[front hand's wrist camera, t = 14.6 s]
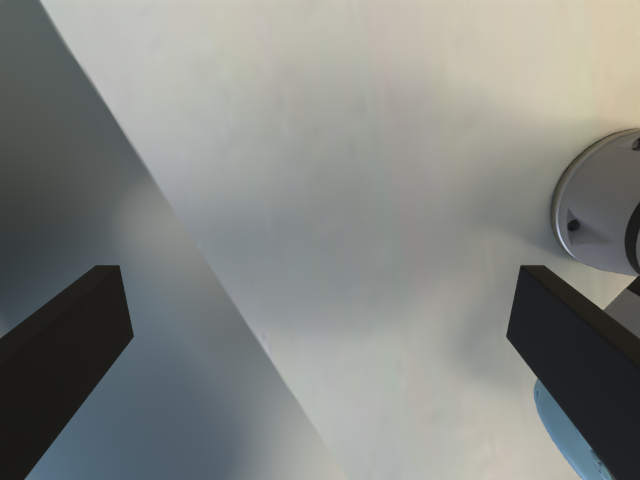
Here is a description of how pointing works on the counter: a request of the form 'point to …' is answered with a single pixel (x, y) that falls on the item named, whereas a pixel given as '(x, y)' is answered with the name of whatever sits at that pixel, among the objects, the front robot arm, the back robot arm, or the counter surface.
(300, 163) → the counter surface
